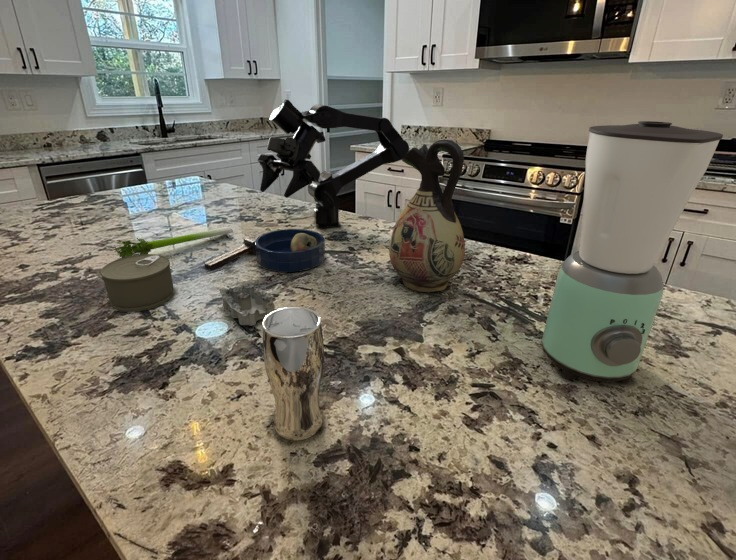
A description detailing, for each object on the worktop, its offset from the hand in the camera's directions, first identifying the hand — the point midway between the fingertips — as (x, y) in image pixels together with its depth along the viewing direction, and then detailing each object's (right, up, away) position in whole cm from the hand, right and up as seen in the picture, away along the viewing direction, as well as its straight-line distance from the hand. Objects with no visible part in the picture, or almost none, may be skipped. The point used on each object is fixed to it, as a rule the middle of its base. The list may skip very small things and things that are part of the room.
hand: (273, 193), depth 108 cm
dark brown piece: (-4, -14, -5) cm, 15 cm away
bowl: (+6, -17, -8) cm, 20 cm away
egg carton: (+1, -28, -30) cm, 41 cm away
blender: (+57, -34, -43) cm, 79 cm away
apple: (+7, -15, -8) cm, 19 cm away
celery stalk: (-24, -15, -2) cm, 28 cm away
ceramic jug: (+36, -23, -20) cm, 48 cm away
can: (-21, -26, -26) cm, 42 cm away
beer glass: (+14, -40, -56) cm, 70 cm away
